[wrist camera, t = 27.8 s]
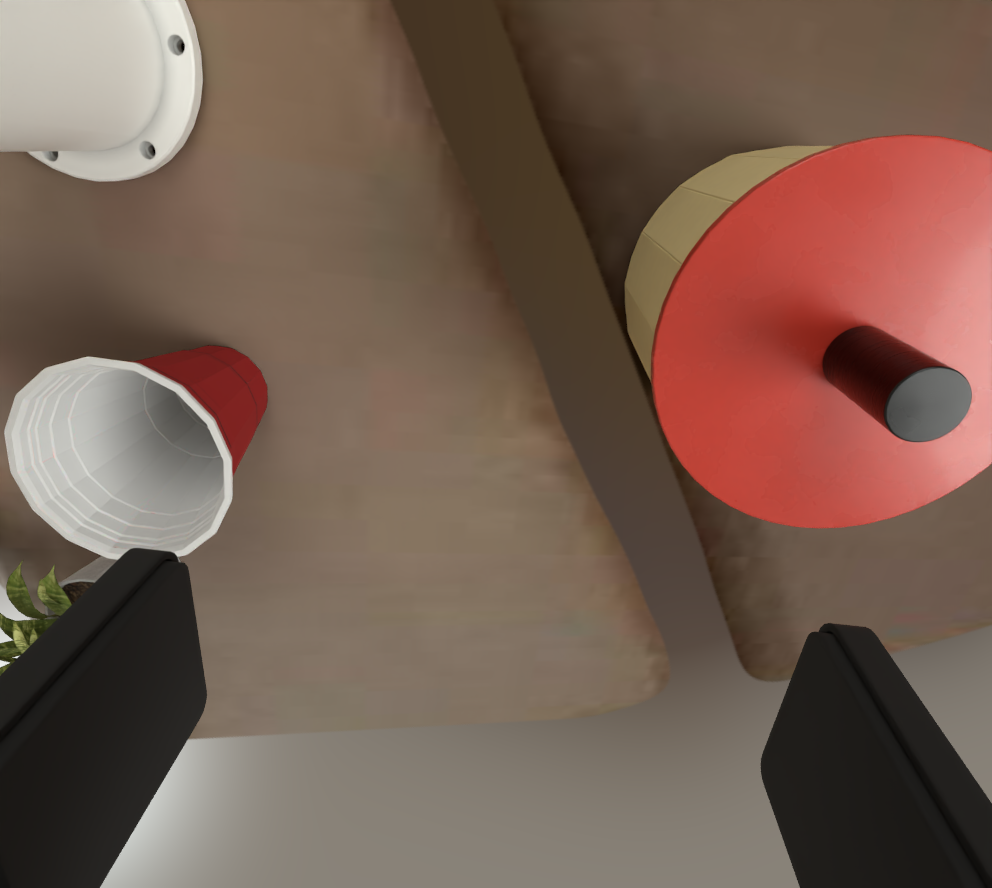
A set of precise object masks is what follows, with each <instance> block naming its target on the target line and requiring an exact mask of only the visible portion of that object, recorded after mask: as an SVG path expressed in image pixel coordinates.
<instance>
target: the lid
mask: <svg viewBox="0 0 992 888" xmlns="http://www.w3.org/2000/svg"><path fill="white" fill-rule="evenodd" d="M651 385H652V393H653V401H654V405H655V408H656V412H657V416H658V419H659V423H660V425H661V427H662V430H663V432H664V434H665V436H666V439H667V441H668V443H669V445H670V447H671V449H672V450H673V452H674V454H675V455H676V457H677V458H678V460H679V461H680V463H681V464H682V466H683V467H684V468H685V469H686V470H687V471H688V473H689V474H690V475H691V476H692V477H693V478H694V479H695V481H697V482H698V483H699V484H700V485H701V486H702V487H704V488H705V489H706V490H707V491H708V492H709V493H711V494H712V495H713V496H715V497H716V498H718V499H719V500H721V501H723V502H724V503H726V504H727V505H729V506H731V507H733V508H735V509H737V510H739V511H741V512H744V513H746V514H748V515H750V516H753V517H756V518H760V519H763V520H766V521H769V522H773V523H778V524H783V525H788V526H794V527H807V528H839V527H848V526H855V525H862V524H868V523H872V522H876V521H880V520H885V519H889V518H892V517H895V516H898V515H901V514H904V513H907V512H909V511H912V510H915V509H917V508H920V507H922V506H924V505H926V504H928V503H930V502H933V501H935V500H937V499H939V498H941V497H943V496H944V495H946V494H948V493H950V492H951V491H953V490H955V489H957V488H958V487H960V486H962V485H963V484H965V483H966V482H968V481H969V480H970V479H972V478H973V477H975V476H976V475H977V474H979V473H980V472H982V471H983V470H984V469H986V468H987V467H988V466H989V465H990V464H991V463H992V151H990V150H987V149H985V148H982V147H979V146H977V145H974V144H971V143H969V142H964V141H959V140H955V139H950V138H945V137H940V136H923V135H894V136H883V137H872V138H866V139H862V140H857V141H853V142H848V143H844V144H839V145H836V146H833V147H831V148H828V149H825V150H822V151H819V152H817V153H814V154H811V155H808V156H806V157H804V158H802V159H800V160H798V161H796V162H794V163H792V164H790V165H788V166H786V167H784V168H782V169H780V170H778V171H777V172H775V173H774V174H772V175H771V176H769V177H768V178H766V179H765V180H763V181H761V182H760V183H758V184H757V185H755V186H754V187H752V188H751V189H750V190H749V191H747V192H746V193H745V194H744V195H743V196H741V197H740V198H739V199H738V200H737V201H735V202H734V203H733V204H732V205H731V206H729V207H728V208H727V209H726V210H725V211H724V212H723V213H722V214H721V215H720V216H719V217H718V218H717V219H716V221H715V222H714V223H713V224H712V225H711V226H710V227H709V228H708V229H707V230H706V231H705V232H704V234H703V235H702V236H701V238H700V239H699V240H698V242H697V243H696V244H695V246H694V247H693V248H692V250H691V251H690V252H689V254H688V255H687V257H686V258H685V260H684V262H683V264H682V265H681V267H680V269H679V270H678V272H677V274H676V275H675V277H674V279H673V281H672V283H671V286H670V288H669V290H668V293H667V295H666V297H665V299H664V302H663V304H662V307H661V311H660V314H659V318H658V321H657V324H656V328H655V333H654V339H653V345H652V352H651Z"/></svg>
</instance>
